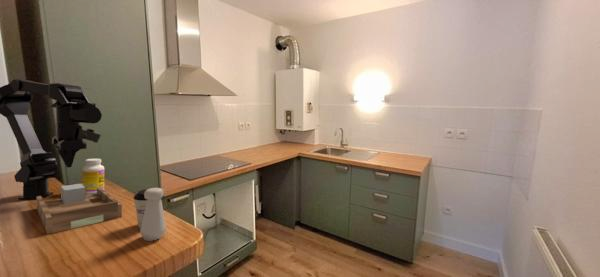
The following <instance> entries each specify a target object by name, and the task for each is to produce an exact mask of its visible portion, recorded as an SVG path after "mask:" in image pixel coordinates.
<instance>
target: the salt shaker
mask: <svg viewBox="0 0 600 277" xmlns="http://www.w3.org/2000/svg"><path fill="white" fill-rule="evenodd" d="M146 189H147V190H146V191H145V193H144V197H145V199H147V204H146V208H145V212H144V216H143V221H142V225H141V228H139V230H140V235H141V237H142V238H143V240H144V241H147V242H154V241H158V240H160V239H161V238H162V237H163V236H164V234H165V231H166V229H167V222H166V218H165V213H164V207H163V202H162V198H163V197H164V195H165V194H164V189H163V188H160V187H151V188H146ZM157 239H158V240H157ZM153 240H154V241H153Z"/></svg>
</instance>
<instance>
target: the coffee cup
mask: <svg viewBox="0 0 600 277" xmlns="http://www.w3.org/2000/svg"><path fill="white" fill-rule="evenodd" d="M147 189H148V188H146V189H145V188H144V189H141V190H139V191H137V193H135V194H134V196H133V200H134V206H135V213H136V220H137V227H138V228H139V229H141V225H142V221H143V216H144V212H145V208H146V204H147V199H145V197H144V193H145V191H146V190H147Z"/></svg>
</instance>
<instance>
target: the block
mask: <svg viewBox="0 0 600 277" xmlns="http://www.w3.org/2000/svg"><path fill="white" fill-rule="evenodd" d="M85 195H86V194H85V187H84V186H83V185H82V183H75V184H69V185H62V186H60V196H61V197H60V199H61V200H62V201H63V203H64V204H69V203H75V202H81V201H85Z"/></svg>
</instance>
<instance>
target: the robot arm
mask: <svg viewBox="0 0 600 277" xmlns="http://www.w3.org/2000/svg"><path fill="white" fill-rule="evenodd" d="M19 92H24V93H19ZM33 94H38V95H43V96H47V97H48V98H50V99H52V100H54V101H55V102H54V103H52V104H51V105H50V107H51V108H55V109H56V110H55V111H56V112H55V117H56V120H55V121H56V122H55V123H56V124H55V128H56V135H54V136H53V137H52V139H51V143H52V145H56V144H57V145H56V146H54V148H55V149H56V151H57V153H58V154H59V157H60V158H61V160H62V162H63V163H64V165H65V167H66V168H72V166H73V163H74V160H75V158H76V157H75V156H76V154H77V152H79V151H81V150H83V149H84V150H85V149H86V150H87V142H86V141H91V142H93V143H97V144H98V143H99V141H100V139H101V136H102V134H99V133H96V132H95V130H94V129H91V128H87V129H83V126H82V125H81V124H97V123H99V122H100V121H101V120H102V116H103V114H102V113H101V112H102V111H101V110H100V109H99V108H98V107H96V106H97V104H96V103H94V102H90V100H89V99H88V98H87V96H86V94H85V93H84V91H83V90H82V87H81V86H79V85H73V84H66V83H58V82H57V83H56V82H55V83H54V82H53V83H48V84H47V83H42V82H35V81H33V80H28V79H27V80H26V79H22V78H21V79H20V78H18V79H17V78H16V79H12V80H11V81H10V82H9V83H8V84H7V83H6V84H5V85H3V86H0V115H2V116H3V117H4V118H6V121H7V122H8V124H9V126H10V129H11V131H12V133H13V135H14V137H15V140H16V142H17V144H18V146H19V148H20V150H21V153H22V158H21V160H20V163H19V165H20V168H19V170H18V171H17V172H16V173H15V174H14V179H15V182H16V183H22V185H23V186H22V195H21V196H18V197H17V198H18V200H36V196H41V197H42V199H44V198H45V197H49V196H50V195H51V196H52V195H53V194H54V191H49V179H51V178H56V174H57V170H58V169H59V168H58V167H59V164H58V160H57V159H56V157H55V154H54V153H53V152H52V151H50V152H49V151H48V152H47V151H45V150H44V149H43V147H42V145H41V143H40V140H39V138H38V136H37V134H36V132H35V129H34V128H33V125H32V122H31V121H30V118H29V116H28V112H29V110H30V107H31V106H30V103H31V102H32V101H33V100H34V95H33ZM84 140H86V141H84Z"/></svg>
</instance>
